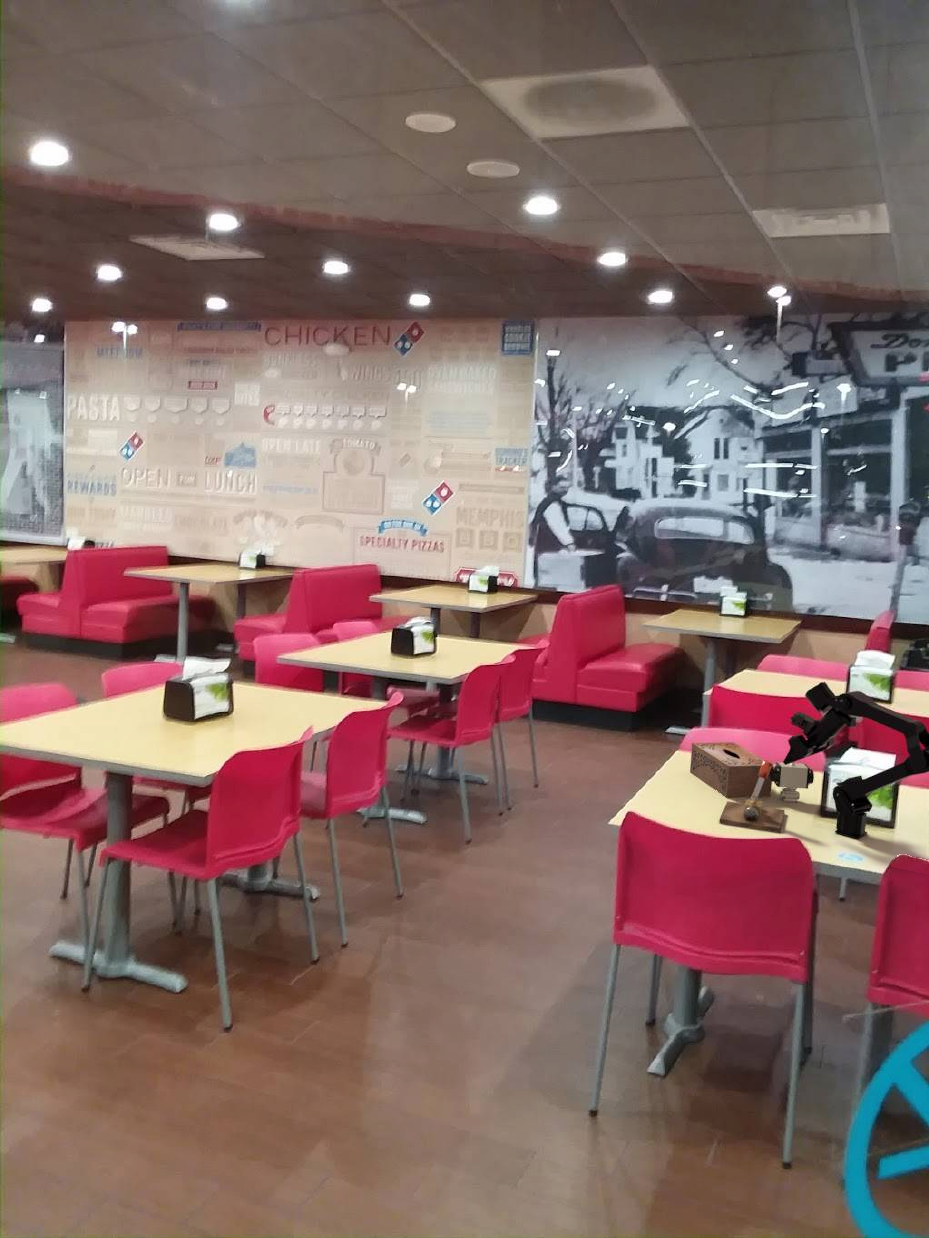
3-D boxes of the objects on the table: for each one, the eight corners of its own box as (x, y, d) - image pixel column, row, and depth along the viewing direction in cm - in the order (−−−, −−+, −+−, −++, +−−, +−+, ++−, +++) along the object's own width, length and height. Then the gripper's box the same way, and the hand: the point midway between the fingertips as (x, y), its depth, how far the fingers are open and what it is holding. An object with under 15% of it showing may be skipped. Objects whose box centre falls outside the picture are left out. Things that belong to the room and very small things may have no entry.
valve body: (762, 810, 292) (764, 791, 291) (758, 823, 281) (760, 803, 280) (746, 808, 294) (748, 788, 293) (742, 821, 283) (743, 800, 282)
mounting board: (784, 813, 292) (784, 809, 292) (779, 832, 277) (780, 828, 277) (726, 805, 298) (727, 801, 298) (719, 822, 282) (719, 818, 282)
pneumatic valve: (811, 804, 302) (815, 764, 300) (771, 801, 303) (774, 762, 301) (806, 798, 308) (810, 759, 306) (766, 796, 308) (770, 757, 307)
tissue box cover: (689, 773, 330) (692, 743, 328) (731, 772, 333) (733, 742, 331) (726, 798, 305) (728, 766, 304) (770, 797, 308) (773, 765, 307)
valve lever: (757, 801, 288) (772, 762, 285) (756, 804, 285) (772, 765, 282) (748, 798, 288) (763, 759, 286) (747, 800, 286) (763, 761, 283)
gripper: (822, 699, 292) (786, 734, 300) (794, 707, 278) (757, 743, 286) (850, 729, 287) (812, 763, 295) (823, 738, 273) (784, 774, 281)
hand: (791, 760), depth 289 cm, fingers open, 9 cm apart
